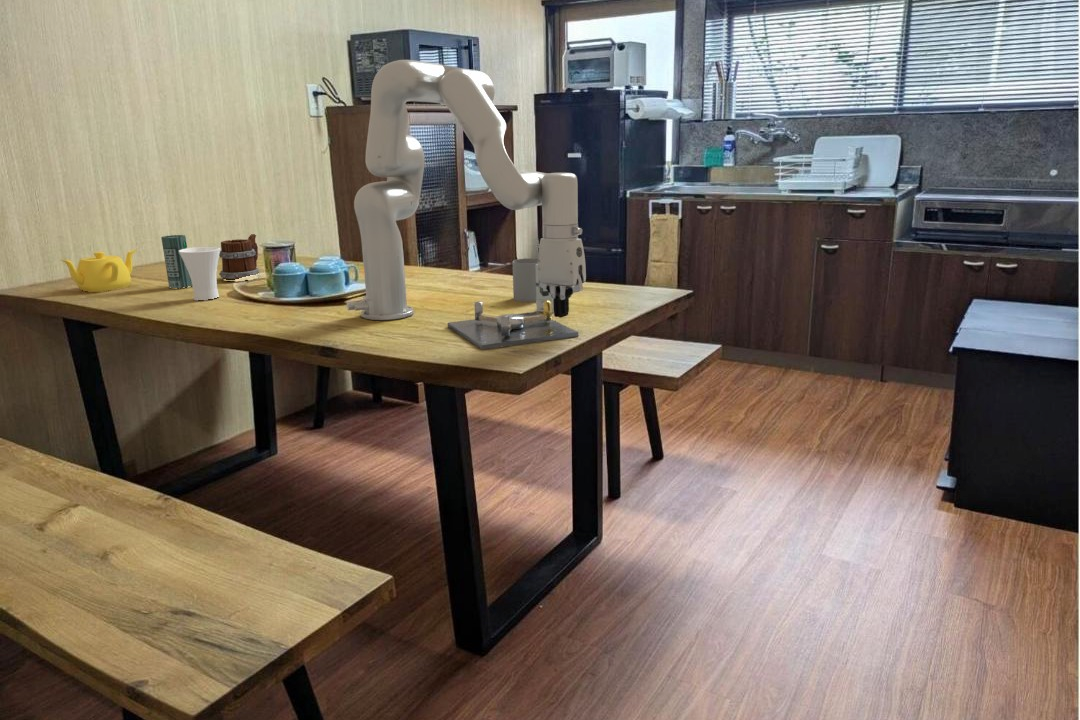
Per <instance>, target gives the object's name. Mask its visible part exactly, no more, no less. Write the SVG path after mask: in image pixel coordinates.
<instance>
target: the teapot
mask: <svg viewBox="0 0 1080 720" xmlns="http://www.w3.org/2000/svg"><path fill="white" fill-rule="evenodd" d="M136 251H137V249H133V250H130V251H127V253H126V256H125V262H124V260H123V259H122V258H121V257H120V256H119V255H118V256H117V255H106V253H105V251H95V252H93V255H94V256H91V257H84V258H80V259H79V261H78V264H77V268H76V266H75V265H74V262H73V261H71V260H69V259H60V261H61V262H63V263H64V264H66V266H67V268H68V272H69V275H70V277H71V279H72V280H73V282H75V283H76V286H77V287H78V289H80V290H81V291H82V290H83V291H82V292H85V291H88V292H87V293H91V292H96V293H102V292H101V291H106V292H109V291H108V290H113V289H118V288H123V287H126V286H129V285H130V286H131V283H132V277H131V274H132V272H133V268H134V267H133V255H134V253H136ZM130 286H129V287H130ZM123 289H124V288H123ZM118 290H119V289H118ZM113 291H114V290H113Z"/></svg>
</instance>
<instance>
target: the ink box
mask: <svg viewBox="0 0 1080 720" xmlns="http://www.w3.org/2000/svg"><path fill="white" fill-rule="evenodd" d="M535 266H536V312H542V313H544V311H543V302H545V301H550V302H551V310H552V314H554V304H553V299H552V298H551V294H550V293H549V292H548V290H547V289H544V288H541V287H540V286H539V284H540V281H539V279H538V264H536V265H535Z"/></svg>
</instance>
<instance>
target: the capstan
mask: <svg viewBox="0 0 1080 720" xmlns="http://www.w3.org/2000/svg"><path fill="white" fill-rule="evenodd" d="M473 305H474V319H475V320H477V321H481V320H484V321H491V322H497V327H498V328H501V335H502V336H509V335H510V331H511V329H518V328H522V327H524V323H526V322H534V321H542V320H545V321H550V320H553V318H552V314H553V313H552V310H551V302H550V301H545V302H543V311H544V312H543V314H541V315H534V316H526V317H524V316H523V315H520V314H521V313H506V314H505V313H503V314H500V315H491V314H484V311H483V310H484V309H483V307H484V306H483V301H474V304H473Z"/></svg>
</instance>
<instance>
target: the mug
mask: <svg viewBox="0 0 1080 720" xmlns="http://www.w3.org/2000/svg"><path fill="white" fill-rule="evenodd" d="M256 238H257V234H255V233H253V234H250V235H249V236H248V238H247V239H243V238H242V239H231V240H230V239H228V240H222V241H221V242H220V248H221V249H220V254H219V258H221V264H222V265H221V266H222V270H220V272H219V273H218V274H219V276H220V278H222V280H223V279H226V280H235V279H239V278H242V277H246V276H250V275H256V274H258V273H261V272H260V269H259V267H257V260H258V256H259V255H258V254H259V248H258V244H257V243H256Z"/></svg>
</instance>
